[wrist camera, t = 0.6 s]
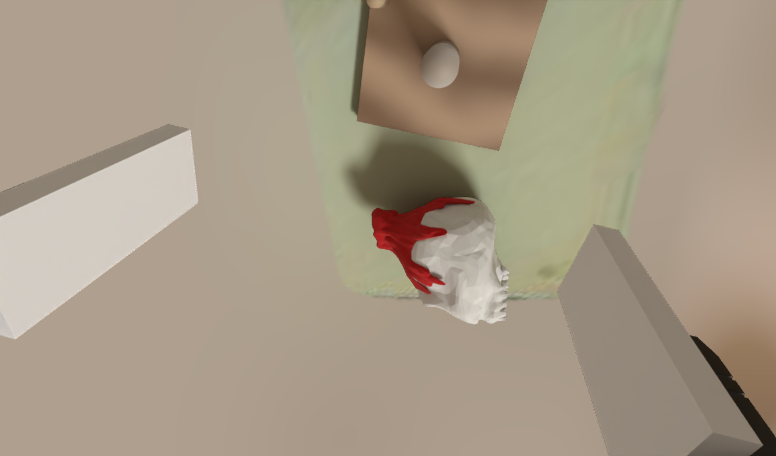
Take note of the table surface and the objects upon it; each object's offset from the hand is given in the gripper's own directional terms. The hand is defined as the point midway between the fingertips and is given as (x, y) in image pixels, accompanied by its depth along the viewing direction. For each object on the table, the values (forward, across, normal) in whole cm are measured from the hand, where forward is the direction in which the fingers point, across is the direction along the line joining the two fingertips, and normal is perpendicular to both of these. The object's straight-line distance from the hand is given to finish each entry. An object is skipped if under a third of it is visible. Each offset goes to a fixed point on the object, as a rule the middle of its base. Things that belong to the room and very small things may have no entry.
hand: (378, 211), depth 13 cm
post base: (+24, 0, +2) cm, 24 cm away
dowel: (+24, -5, +5) cm, 25 cm away
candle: (+24, +5, -14) cm, 28 cm away
